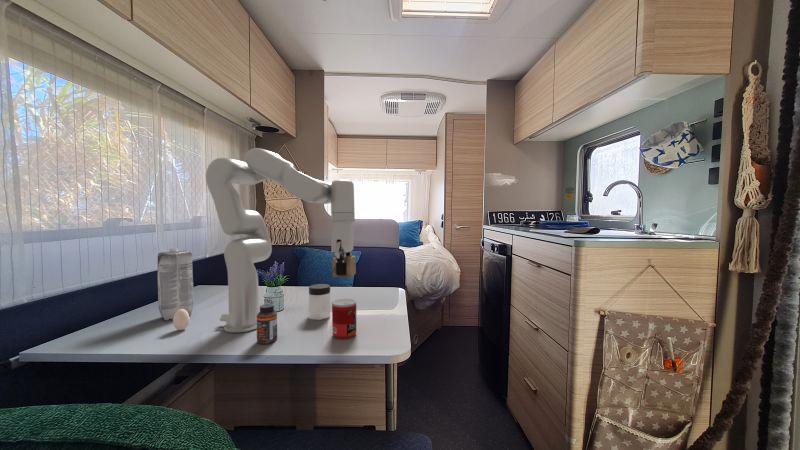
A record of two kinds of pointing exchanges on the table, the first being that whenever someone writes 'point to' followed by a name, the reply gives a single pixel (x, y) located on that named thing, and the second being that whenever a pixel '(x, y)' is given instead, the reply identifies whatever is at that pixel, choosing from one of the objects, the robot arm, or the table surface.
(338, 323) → the canned food
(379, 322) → the table surface
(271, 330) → the supplement bottle
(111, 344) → the table surface
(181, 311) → the egg
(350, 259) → the walnut cube
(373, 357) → the table surface
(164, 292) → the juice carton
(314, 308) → the jar
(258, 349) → the table surface
